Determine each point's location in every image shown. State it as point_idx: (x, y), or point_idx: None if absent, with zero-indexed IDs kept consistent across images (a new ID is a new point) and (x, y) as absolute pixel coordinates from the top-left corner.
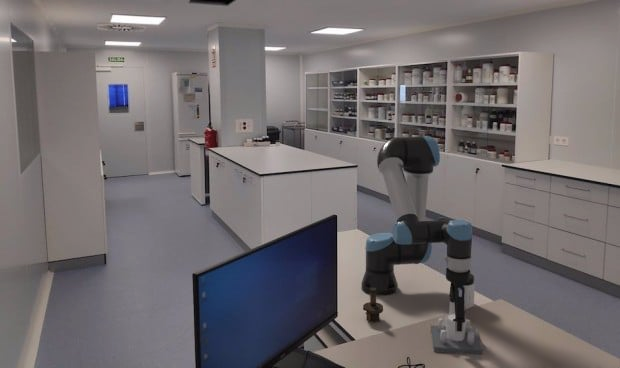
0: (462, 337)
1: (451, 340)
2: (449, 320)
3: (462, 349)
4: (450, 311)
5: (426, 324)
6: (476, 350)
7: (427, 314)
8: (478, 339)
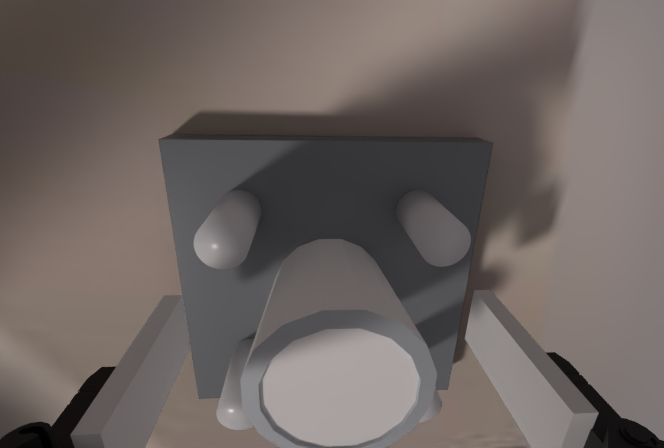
0: (498, 304)
1: None
2: (397, 436)
3: (468, 259)
4: (161, 402)
5: None
6: (482, 181)
7: (3, 387)
8: (345, 146)
